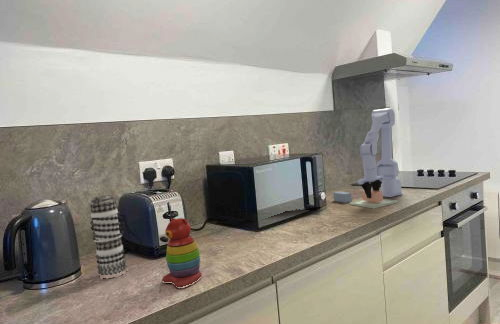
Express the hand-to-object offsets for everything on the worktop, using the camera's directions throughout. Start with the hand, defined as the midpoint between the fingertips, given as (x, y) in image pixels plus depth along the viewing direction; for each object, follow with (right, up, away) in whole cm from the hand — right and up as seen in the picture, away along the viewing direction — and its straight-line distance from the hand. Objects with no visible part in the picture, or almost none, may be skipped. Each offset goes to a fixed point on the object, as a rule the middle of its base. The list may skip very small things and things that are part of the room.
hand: (372, 197), depth 177 cm
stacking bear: (-76, -17, -71) cm, 105 cm away
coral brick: (0, -2, 0) cm, 2 cm away
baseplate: (0, -3, 0) cm, 3 cm away
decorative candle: (-101, -19, -58) cm, 118 cm away
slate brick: (-11, -4, +14) cm, 18 cm away
